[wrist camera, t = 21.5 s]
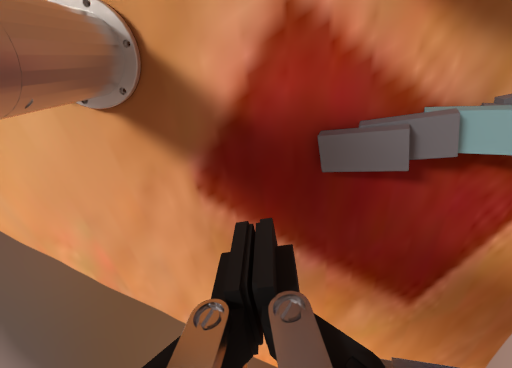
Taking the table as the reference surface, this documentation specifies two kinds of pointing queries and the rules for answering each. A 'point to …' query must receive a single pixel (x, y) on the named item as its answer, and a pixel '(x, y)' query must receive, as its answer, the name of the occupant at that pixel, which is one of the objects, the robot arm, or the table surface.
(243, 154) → the table surface
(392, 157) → the domino
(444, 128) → the domino
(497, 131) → the domino
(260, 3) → the table surface
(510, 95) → the domino
